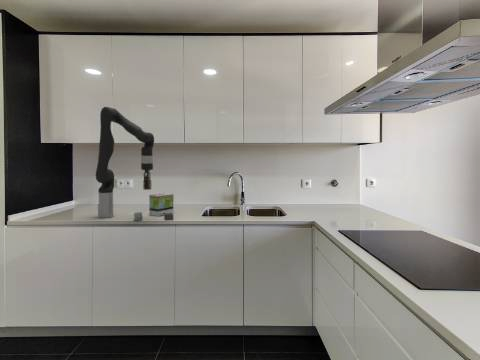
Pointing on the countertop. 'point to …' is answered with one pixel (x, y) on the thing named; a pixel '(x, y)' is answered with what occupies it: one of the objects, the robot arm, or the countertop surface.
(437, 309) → the countertop surface
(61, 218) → the countertop surface
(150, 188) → the walnut block
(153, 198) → the tea box
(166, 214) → the charcoal block
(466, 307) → the countertop surface
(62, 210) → the countertop surface
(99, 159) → the robot arm
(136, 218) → the grey egg shape
